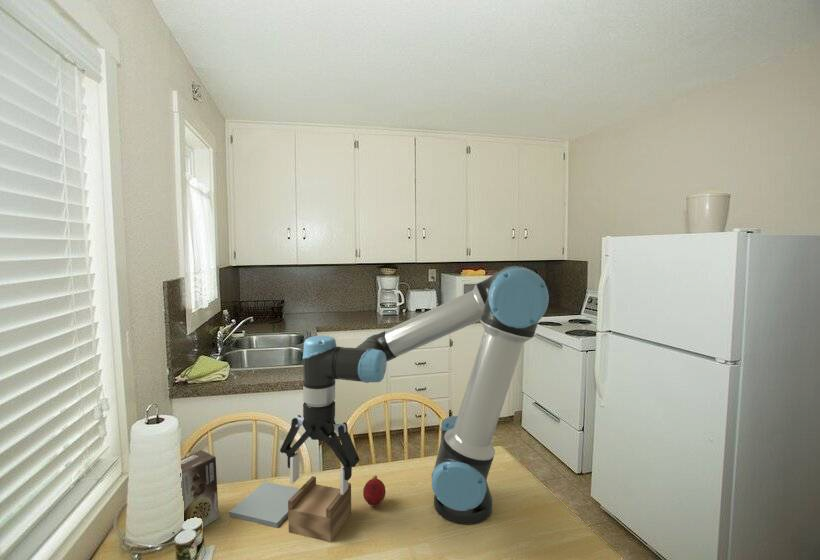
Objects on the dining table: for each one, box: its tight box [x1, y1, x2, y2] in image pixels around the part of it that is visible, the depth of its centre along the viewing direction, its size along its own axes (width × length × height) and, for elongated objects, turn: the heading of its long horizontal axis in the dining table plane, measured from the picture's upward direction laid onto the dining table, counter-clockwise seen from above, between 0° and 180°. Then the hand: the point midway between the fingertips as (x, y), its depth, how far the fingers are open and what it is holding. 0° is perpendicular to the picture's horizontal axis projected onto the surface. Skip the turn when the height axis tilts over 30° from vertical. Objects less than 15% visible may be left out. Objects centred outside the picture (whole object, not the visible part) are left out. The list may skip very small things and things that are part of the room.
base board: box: [228, 481, 301, 529], centre depth 107 cm, size 14×14×1 cm
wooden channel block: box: [287, 476, 352, 543], centre depth 100 cm, size 11×11×8 cm
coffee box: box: [180, 449, 219, 528], centre depth 99 cm, size 9×6×16 cm
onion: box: [362, 474, 387, 507], centre depth 107 cm, size 6×6×8 cm
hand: (318, 486), depth 100 cm, fingers open, 13 cm apart
